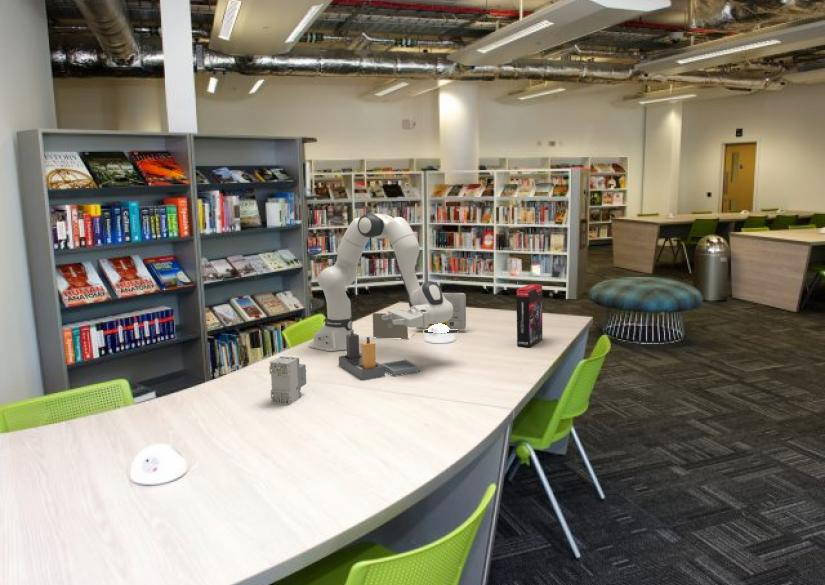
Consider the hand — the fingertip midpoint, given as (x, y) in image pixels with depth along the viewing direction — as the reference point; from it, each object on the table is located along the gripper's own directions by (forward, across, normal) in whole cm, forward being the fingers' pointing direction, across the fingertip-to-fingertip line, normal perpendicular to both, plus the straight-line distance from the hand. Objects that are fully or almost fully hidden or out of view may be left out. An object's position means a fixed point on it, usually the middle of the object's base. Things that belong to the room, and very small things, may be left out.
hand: (387, 320), depth 261 cm
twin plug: (+9, -16, +20) cm, 27 cm away
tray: (-5, 0, +22) cm, 22 cm away
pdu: (+9, -8, +22) cm, 25 cm away
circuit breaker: (+45, +9, +21) cm, 50 cm away
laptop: (-29, -53, +23) cm, 65 cm away
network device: (-53, -48, +23) cm, 75 cm away
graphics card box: (-77, -6, +23) cm, 80 cm away
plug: (+9, 0, +20) cm, 22 cm away
